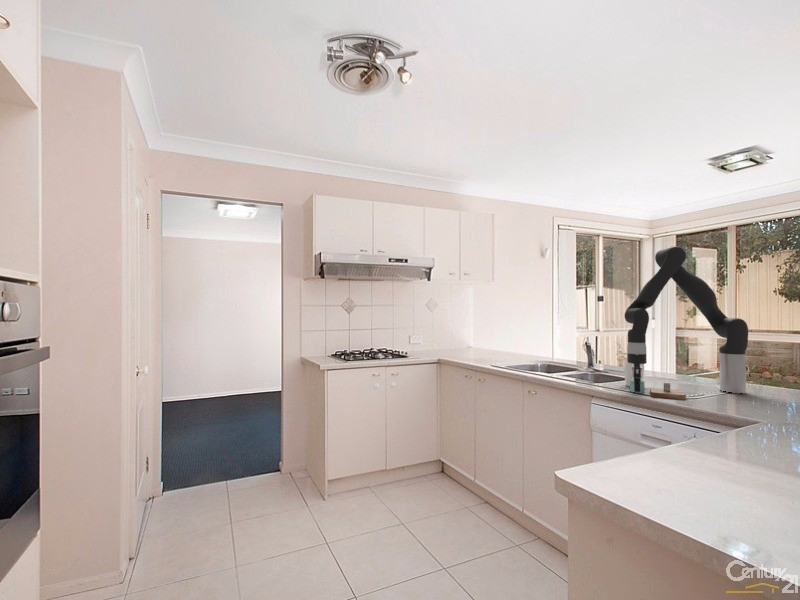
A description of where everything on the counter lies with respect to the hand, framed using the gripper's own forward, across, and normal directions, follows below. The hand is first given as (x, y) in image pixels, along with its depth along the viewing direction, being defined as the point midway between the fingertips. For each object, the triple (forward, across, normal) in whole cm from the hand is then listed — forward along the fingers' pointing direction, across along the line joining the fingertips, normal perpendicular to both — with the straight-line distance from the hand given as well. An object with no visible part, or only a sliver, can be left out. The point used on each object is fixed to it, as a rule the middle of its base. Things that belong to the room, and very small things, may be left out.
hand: (637, 390), depth 186 cm
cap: (+1, 0, 0) cm, 1 cm away
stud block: (+1, +4, +11) cm, 12 cm away
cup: (+1, -17, -1) cm, 17 cm away
